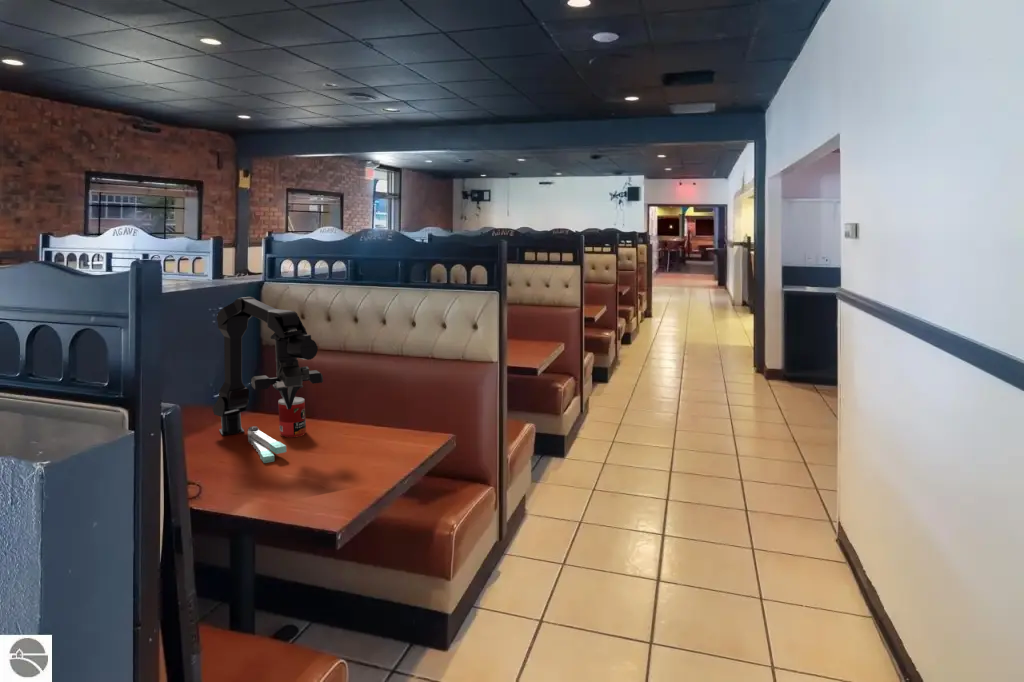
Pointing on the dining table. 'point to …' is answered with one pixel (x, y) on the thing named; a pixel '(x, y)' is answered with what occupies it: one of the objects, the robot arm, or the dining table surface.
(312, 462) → the dining table surface
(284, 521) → the dining table surface
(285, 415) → the canned food
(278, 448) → the tong arm
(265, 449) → the tongs lower
